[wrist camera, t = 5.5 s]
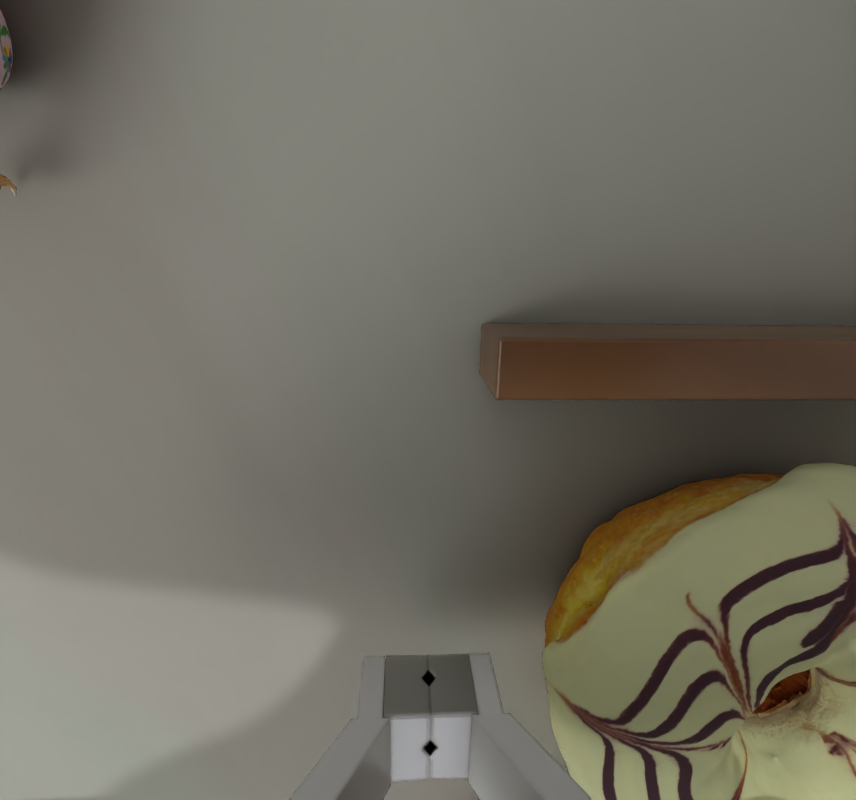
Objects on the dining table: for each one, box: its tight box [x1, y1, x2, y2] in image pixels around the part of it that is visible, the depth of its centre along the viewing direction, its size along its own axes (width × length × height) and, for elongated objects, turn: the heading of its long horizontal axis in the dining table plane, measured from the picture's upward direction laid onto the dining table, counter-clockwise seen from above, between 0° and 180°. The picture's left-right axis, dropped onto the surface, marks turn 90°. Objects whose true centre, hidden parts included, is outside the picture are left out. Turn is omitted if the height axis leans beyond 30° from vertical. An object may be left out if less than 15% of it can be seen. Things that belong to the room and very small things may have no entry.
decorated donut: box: [542, 463, 856, 800], centre depth 12 cm, size 10×11×4 cm
